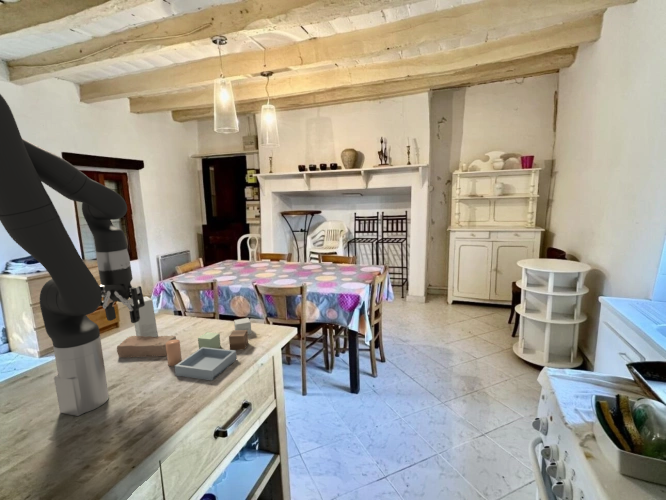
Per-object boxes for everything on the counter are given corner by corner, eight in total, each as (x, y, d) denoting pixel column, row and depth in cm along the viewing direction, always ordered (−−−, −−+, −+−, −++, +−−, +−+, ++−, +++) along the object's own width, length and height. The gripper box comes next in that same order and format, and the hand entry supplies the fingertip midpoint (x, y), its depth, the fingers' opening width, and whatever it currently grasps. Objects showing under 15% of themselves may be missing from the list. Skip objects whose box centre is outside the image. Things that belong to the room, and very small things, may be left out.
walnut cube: (244, 349, 112) (243, 336, 111) (229, 350, 112) (228, 336, 111) (248, 343, 117) (247, 330, 116) (234, 343, 117) (233, 330, 116)
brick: (178, 345, 117) (177, 333, 116) (167, 357, 108) (165, 343, 108) (131, 347, 116) (129, 335, 116) (116, 359, 108) (115, 345, 107)
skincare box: (158, 337, 124) (154, 299, 122) (140, 342, 120) (135, 303, 117) (151, 331, 130) (147, 295, 128) (134, 335, 126) (129, 298, 123)
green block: (211, 353, 110) (210, 339, 109) (199, 351, 111) (197, 338, 110) (220, 346, 115) (219, 333, 114) (208, 345, 116) (207, 332, 115)
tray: (212, 380, 93) (211, 370, 92) (175, 375, 96) (174, 365, 96) (236, 359, 105) (236, 350, 104) (203, 355, 108) (202, 346, 108)
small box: (249, 329, 130) (248, 317, 129) (251, 334, 125) (251, 322, 124) (234, 331, 128) (233, 319, 127) (236, 337, 122) (235, 324, 122)
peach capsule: (175, 366, 101) (173, 345, 100) (165, 365, 102) (162, 344, 101) (184, 360, 105) (182, 340, 104) (174, 359, 106) (172, 338, 105)
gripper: (81, 268, 89) (92, 324, 92) (123, 270, 85) (132, 328, 88) (106, 262, 96) (115, 314, 99) (146, 263, 92) (154, 317, 95)
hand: (123, 320), depth 94 cm, fingers open, 8 cm apart
